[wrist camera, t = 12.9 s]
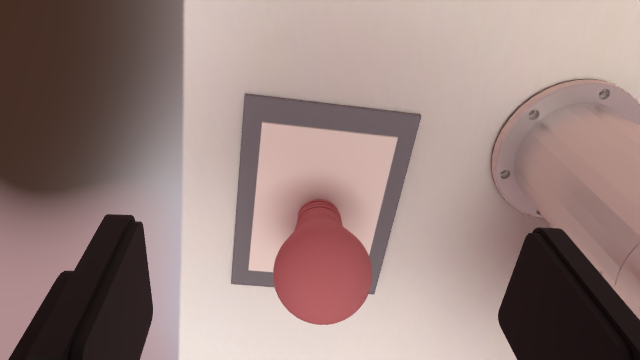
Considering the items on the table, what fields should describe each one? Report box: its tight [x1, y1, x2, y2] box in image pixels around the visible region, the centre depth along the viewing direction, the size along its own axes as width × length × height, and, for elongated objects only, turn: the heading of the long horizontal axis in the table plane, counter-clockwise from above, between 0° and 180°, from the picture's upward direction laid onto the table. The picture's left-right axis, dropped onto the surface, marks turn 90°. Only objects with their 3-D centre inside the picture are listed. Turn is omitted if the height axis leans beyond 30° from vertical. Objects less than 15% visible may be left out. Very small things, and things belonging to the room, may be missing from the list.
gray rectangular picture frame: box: [231, 94, 421, 294], centre depth 42 cm, size 19×14×1 cm
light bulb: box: [273, 199, 372, 325], centre depth 37 cm, size 7×7×12 cm
